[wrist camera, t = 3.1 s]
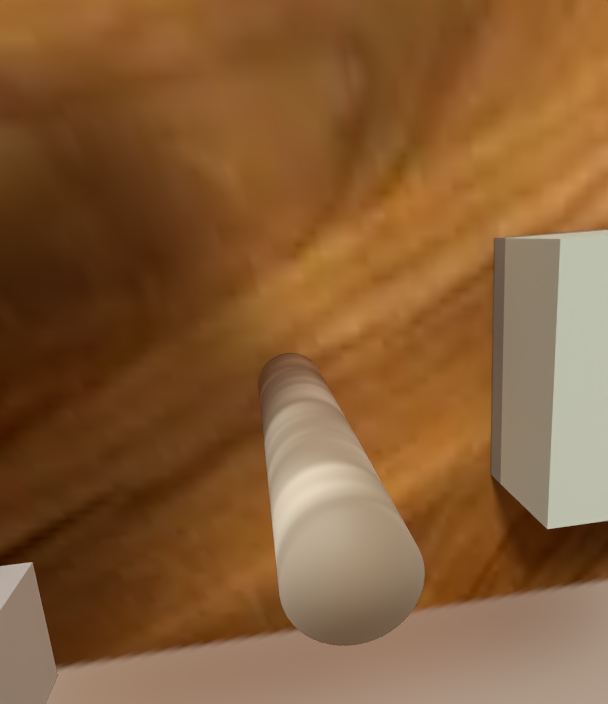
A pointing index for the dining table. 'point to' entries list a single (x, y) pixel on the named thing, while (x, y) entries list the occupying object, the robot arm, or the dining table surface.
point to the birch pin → (331, 515)
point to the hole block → (552, 375)
